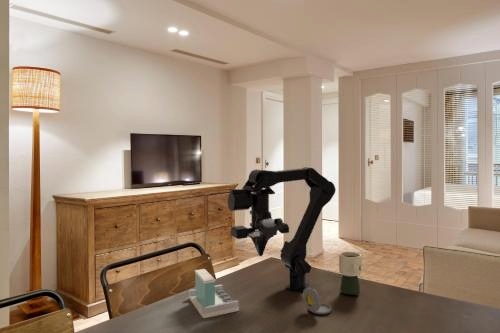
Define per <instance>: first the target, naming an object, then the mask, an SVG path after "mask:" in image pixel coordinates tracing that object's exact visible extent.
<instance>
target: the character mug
mask: <svg viewBox="0 0 500 333" xmlns="http://www.w3.org/2000/svg"><path fill="white" fill-rule="evenodd" d="M338 271H339V273H340V275H342V276H341V281H340V290H339V291H340V292H341V293H343V294H346V295H350V296H352V295H353V296H357V295H360V293H361V289H360V286H361V285H360V280H359V279H360V278H359V277H358V276H360V275H361V274H362V254H361V253H359V252H356V251H347V250H346V251H341V252H339V253H338Z"/></svg>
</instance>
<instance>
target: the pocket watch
mask: <svg viewBox="0 0 500 333" xmlns="http://www.w3.org/2000/svg"><path fill="white" fill-rule="evenodd" d="M310 282H311V283H310ZM307 284H309V287H308V288H306V289H305V290H304V291H303V292H302V302H303V305H304V306H305V308H306V309H307V310H308V311H310V312H311V313H313V314H315V315H316V314H317V315H327V314H329V313H331V312H332V306H331V305H329V304H327V303H325V302H322V299H321V296H320V294H319V292H318V291H317V290H316V289H315V288H314V286H315V285H316V284H315V282H314V281H313V280H311V279H308V280H307Z"/></svg>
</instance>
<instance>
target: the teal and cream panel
mask: <svg viewBox="0 0 500 333" xmlns="http://www.w3.org/2000/svg"><path fill="white" fill-rule="evenodd" d="M194 275H195V289H196V297H197V299H198V300H199V301H200V303H201V304H202V305H203V307H206V306H211V305H215V285H216V284H215V282H216V279H215V278H214V276H212V275H211V273H209V272H208V270H206V269H205V268H201V269H194Z"/></svg>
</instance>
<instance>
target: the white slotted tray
mask: <svg viewBox="0 0 500 333" xmlns="http://www.w3.org/2000/svg"><path fill="white" fill-rule="evenodd" d="M188 294H189V295H188V296H189V300H190V301H191V303H192V304H193V306H194V307H195V309H196V310H197V311H198V313H199V315H200V316H201V317H202V319H206V318H212V317H216V316H217V317H218V316H220V315H225V314H230V313H234V312H238V311H240V301H239V300H235V299H233V298H232V297H231V296H230V295H229V293H227V292H226V291H225V290H224V289H223V284H215V305H211V306H206V307H203V305H202V304H201V303H200V301H199V300H198V299H197V297H196V288H194V289H189V291H188Z"/></svg>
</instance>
